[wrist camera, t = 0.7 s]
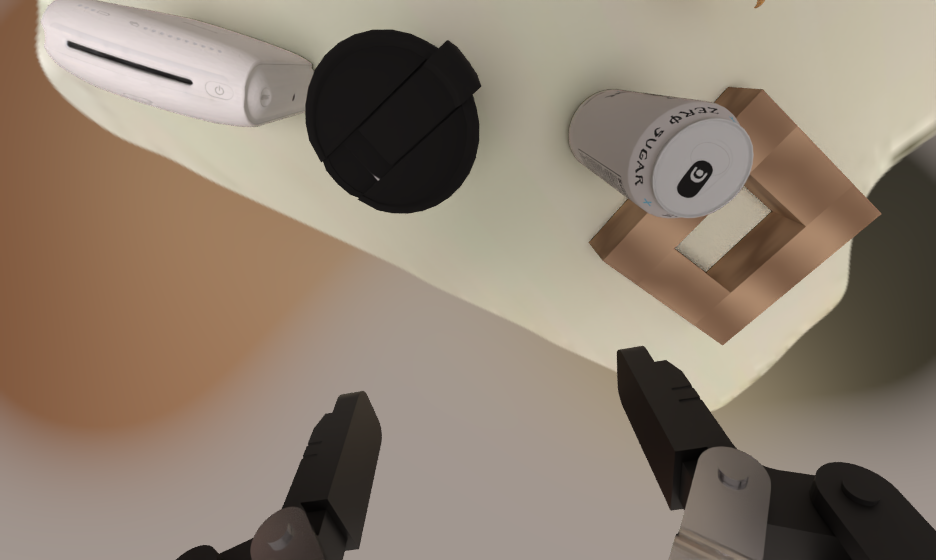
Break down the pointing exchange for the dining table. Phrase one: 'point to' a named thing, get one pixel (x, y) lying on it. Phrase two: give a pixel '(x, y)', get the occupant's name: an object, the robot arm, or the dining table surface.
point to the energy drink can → (663, 150)
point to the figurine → (759, 3)
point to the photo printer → (176, 63)
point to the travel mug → (394, 119)
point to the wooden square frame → (765, 247)
